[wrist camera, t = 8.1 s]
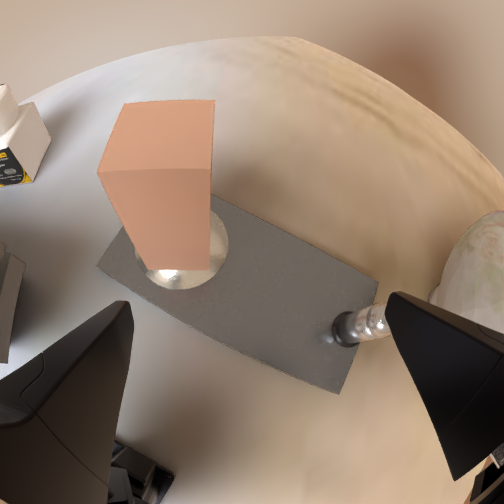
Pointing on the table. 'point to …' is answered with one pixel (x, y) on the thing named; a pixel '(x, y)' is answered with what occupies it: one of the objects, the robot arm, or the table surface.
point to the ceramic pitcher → (476, 274)
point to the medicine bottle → (20, 140)
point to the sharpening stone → (8, 296)
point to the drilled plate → (257, 295)
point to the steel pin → (363, 325)
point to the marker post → (163, 180)
